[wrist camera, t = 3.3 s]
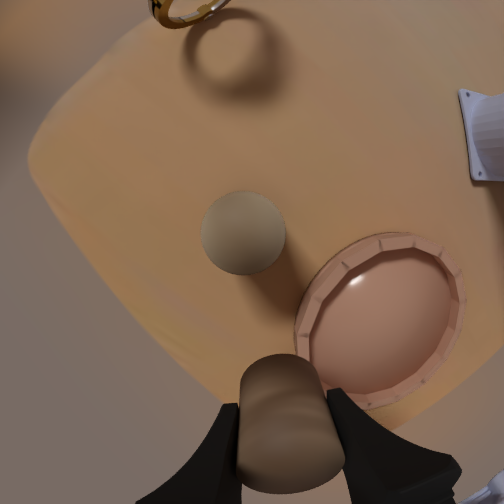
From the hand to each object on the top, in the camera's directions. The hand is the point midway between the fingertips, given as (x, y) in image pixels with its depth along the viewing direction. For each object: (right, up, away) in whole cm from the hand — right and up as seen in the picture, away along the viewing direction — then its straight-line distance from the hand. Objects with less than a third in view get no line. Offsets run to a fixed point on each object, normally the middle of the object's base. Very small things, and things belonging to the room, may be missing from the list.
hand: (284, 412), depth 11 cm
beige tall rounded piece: (-2, +9, +8) cm, 12 cm away
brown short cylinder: (0, 0, +2) cm, 2 cm away
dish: (+9, +1, +9) cm, 13 cm away
